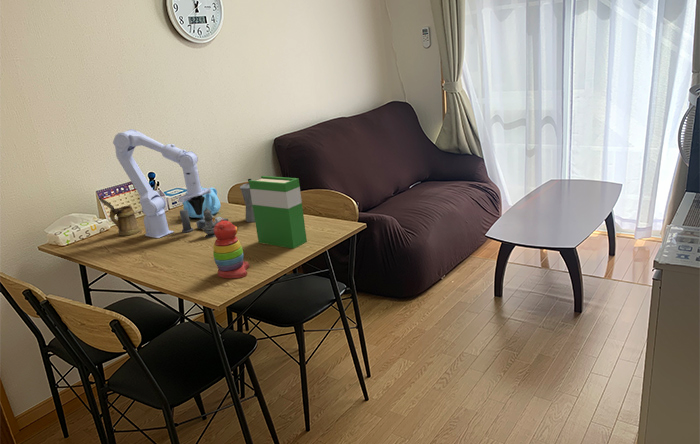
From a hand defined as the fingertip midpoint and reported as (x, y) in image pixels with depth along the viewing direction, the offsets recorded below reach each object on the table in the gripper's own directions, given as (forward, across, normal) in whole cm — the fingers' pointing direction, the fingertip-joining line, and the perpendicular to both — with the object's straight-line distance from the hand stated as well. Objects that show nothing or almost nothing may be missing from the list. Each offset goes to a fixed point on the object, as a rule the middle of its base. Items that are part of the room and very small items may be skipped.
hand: (199, 214), depth 213 cm
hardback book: (+8, +4, -42) cm, 43 cm away
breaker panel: (+7, +6, 0) cm, 9 cm away
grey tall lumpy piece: (+8, -2, -8) cm, 12 cm away
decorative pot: (+8, +16, +20) cm, 27 cm away
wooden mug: (+8, -16, +32) cm, 37 cm away
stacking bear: (+8, -24, -47) cm, 53 cm away
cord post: (+7, -2, +7) cm, 10 cm away
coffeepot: (+8, +20, -11) cm, 25 cm away
